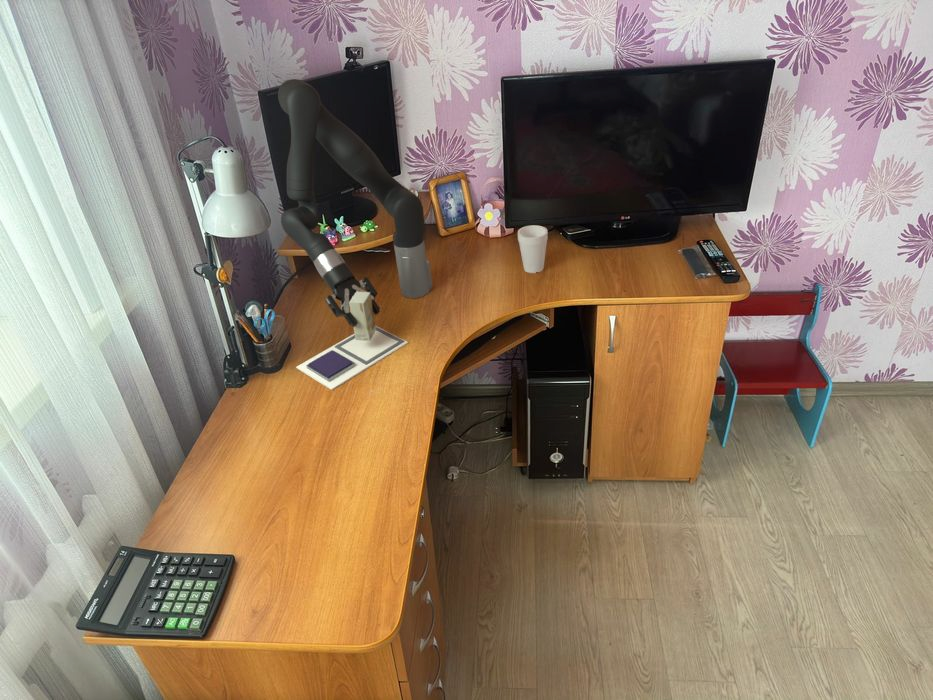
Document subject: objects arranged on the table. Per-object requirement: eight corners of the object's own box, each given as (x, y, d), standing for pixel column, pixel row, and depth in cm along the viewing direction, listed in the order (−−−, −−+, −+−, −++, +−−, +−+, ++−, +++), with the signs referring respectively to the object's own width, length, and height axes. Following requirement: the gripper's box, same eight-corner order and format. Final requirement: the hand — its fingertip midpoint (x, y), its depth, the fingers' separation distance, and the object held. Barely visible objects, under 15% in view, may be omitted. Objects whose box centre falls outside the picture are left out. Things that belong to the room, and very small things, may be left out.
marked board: (371, 324, 206) (371, 322, 206) (408, 343, 197) (407, 341, 196) (296, 368, 191) (295, 366, 191) (331, 390, 182) (331, 388, 181)
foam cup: (519, 261, 231) (518, 225, 224) (548, 261, 230) (547, 224, 223) (519, 275, 224) (517, 238, 216) (548, 275, 222) (547, 237, 215)
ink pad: (333, 353, 195) (332, 348, 194) (355, 365, 189) (354, 361, 188) (306, 368, 190) (305, 363, 189) (329, 381, 184) (328, 377, 183)
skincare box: (370, 341, 192) (363, 303, 185) (355, 340, 193) (348, 303, 186) (377, 328, 198) (370, 291, 191) (362, 328, 198) (355, 290, 191)
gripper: (316, 274, 184) (350, 325, 184) (358, 253, 193) (391, 303, 192) (308, 285, 191) (342, 335, 190) (349, 265, 199) (381, 313, 198)
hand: (366, 319), depth 191 cm, fingers closed on skincare box, 7 cm apart
